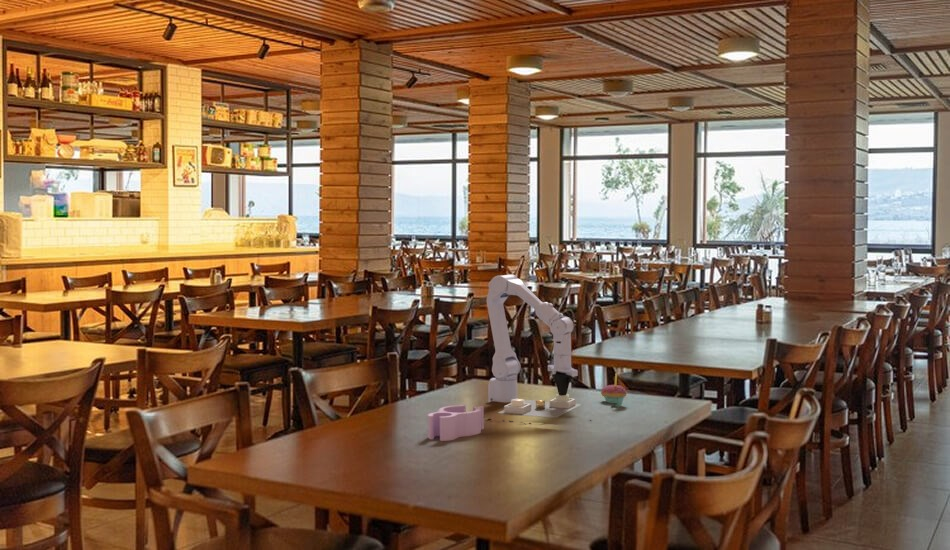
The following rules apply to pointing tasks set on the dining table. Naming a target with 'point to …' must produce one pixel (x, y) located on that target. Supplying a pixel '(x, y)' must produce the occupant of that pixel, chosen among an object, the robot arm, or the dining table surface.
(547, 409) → the panel
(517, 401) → the ivory knob
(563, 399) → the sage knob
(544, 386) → the dining table surface
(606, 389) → the cupcake
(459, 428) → the clip
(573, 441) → the dining table surface
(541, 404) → the gold knob
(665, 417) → the dining table surface
